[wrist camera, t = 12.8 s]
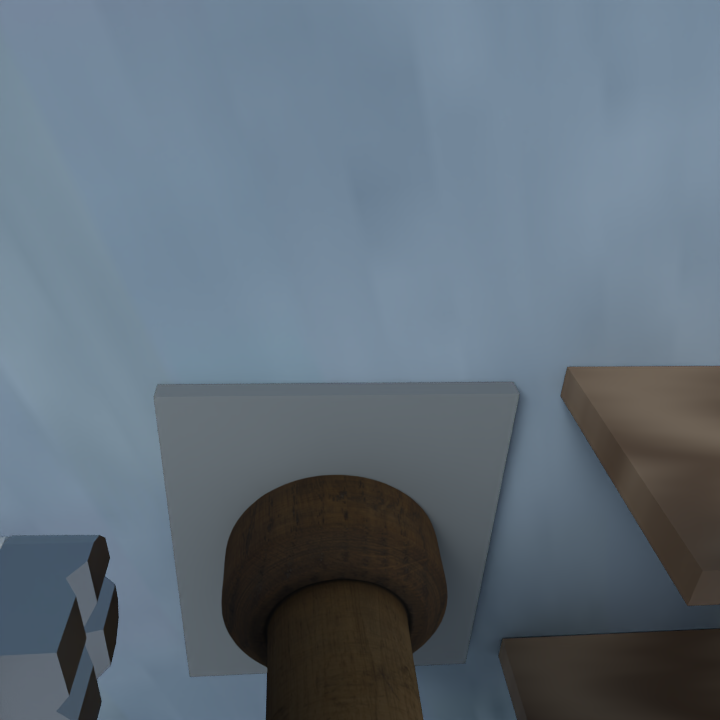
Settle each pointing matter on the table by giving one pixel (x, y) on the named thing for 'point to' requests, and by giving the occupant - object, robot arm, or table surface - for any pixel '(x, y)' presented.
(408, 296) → the table surface
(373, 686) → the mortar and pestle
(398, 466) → the grey rubber mat
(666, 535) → the walnut bay
